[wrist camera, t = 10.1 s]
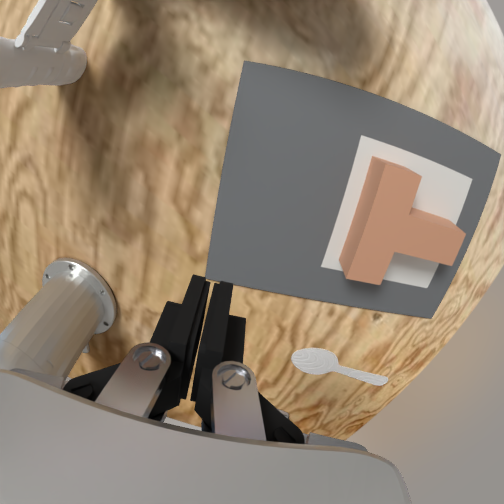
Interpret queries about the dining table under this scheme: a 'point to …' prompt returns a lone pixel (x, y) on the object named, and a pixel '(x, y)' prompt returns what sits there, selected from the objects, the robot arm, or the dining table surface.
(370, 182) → the t block
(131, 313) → the dining table surface
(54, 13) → the binoculars
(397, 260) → the mat
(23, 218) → the dining table surface
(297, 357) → the spoon
